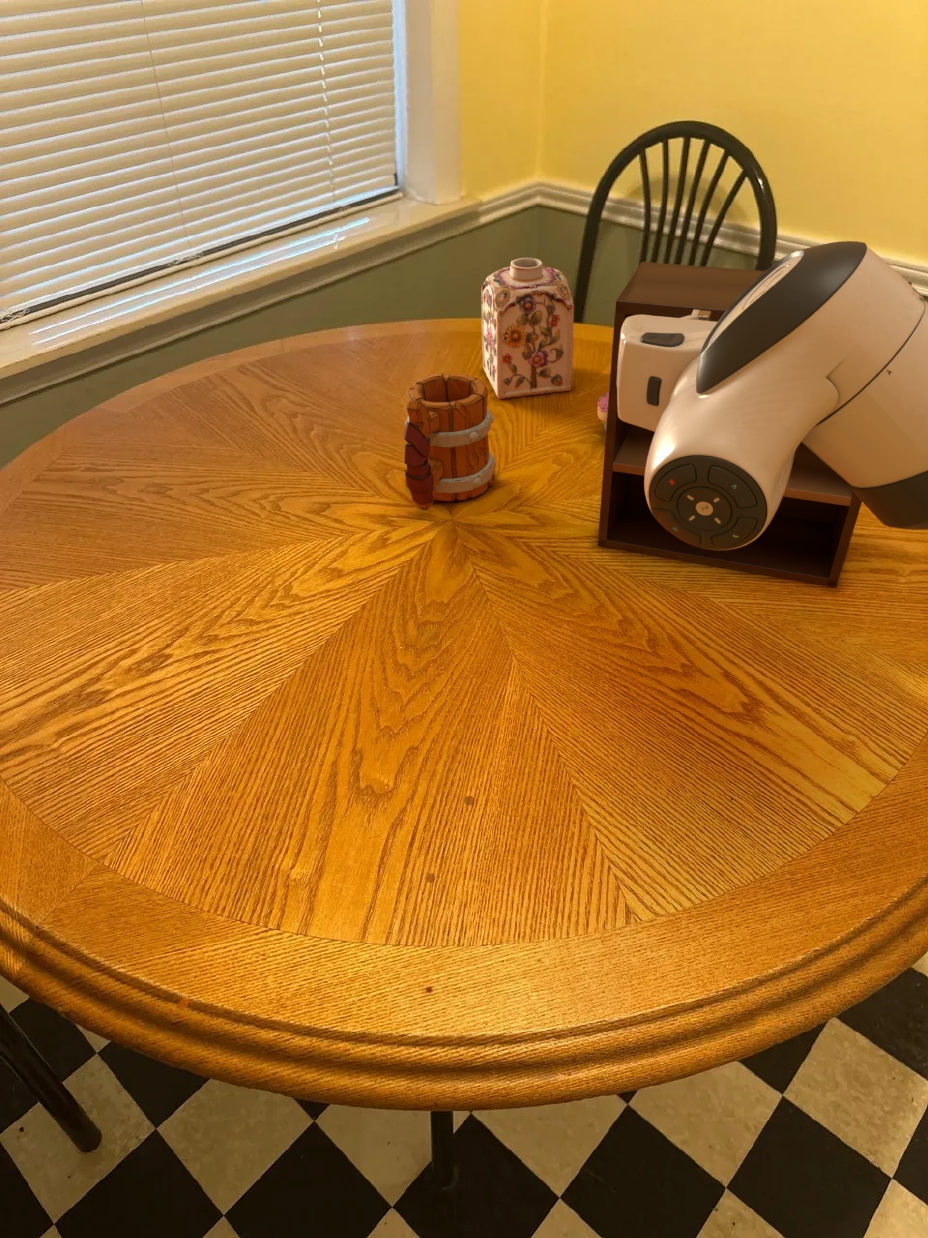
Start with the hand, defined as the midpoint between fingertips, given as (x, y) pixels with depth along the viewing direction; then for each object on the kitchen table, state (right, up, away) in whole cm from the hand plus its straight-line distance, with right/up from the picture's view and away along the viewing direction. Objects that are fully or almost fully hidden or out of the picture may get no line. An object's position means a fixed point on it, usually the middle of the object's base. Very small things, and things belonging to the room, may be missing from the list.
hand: (759, 324), depth 71 cm
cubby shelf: (+5, -15, +29) cm, 33 cm away
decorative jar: (-15, +13, +64) cm, 67 cm away
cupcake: (-2, 0, +48) cm, 48 cm away
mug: (-27, -8, +39) cm, 48 cm away
